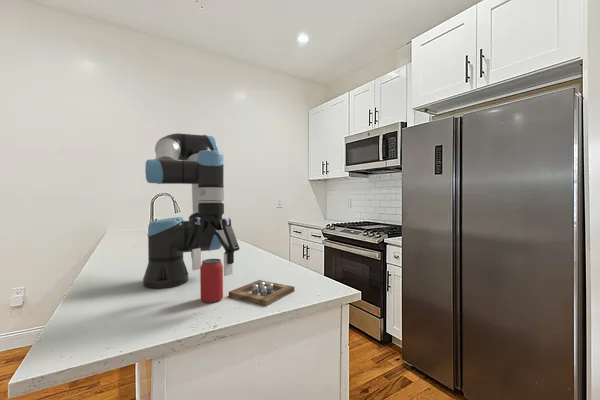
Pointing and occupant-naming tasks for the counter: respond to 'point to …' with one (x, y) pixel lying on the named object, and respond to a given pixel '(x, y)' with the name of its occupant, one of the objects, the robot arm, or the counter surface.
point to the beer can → (211, 280)
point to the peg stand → (262, 288)
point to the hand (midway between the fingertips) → (211, 272)
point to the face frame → (263, 300)
